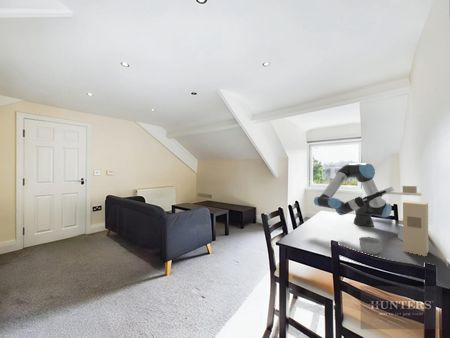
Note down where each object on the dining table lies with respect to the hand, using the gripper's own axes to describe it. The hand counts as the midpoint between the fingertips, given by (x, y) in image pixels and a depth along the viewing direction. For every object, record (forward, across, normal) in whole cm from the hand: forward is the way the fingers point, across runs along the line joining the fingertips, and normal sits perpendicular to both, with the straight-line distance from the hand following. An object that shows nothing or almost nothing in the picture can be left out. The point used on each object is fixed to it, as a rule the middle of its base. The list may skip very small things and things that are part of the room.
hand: (392, 188), depth 130 cm
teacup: (-26, +21, -29) cm, 44 cm away
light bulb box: (-16, -21, -35) cm, 44 cm away
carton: (-10, -1, -38) cm, 39 cm away
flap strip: (0, 0, -4) cm, 4 cm away
